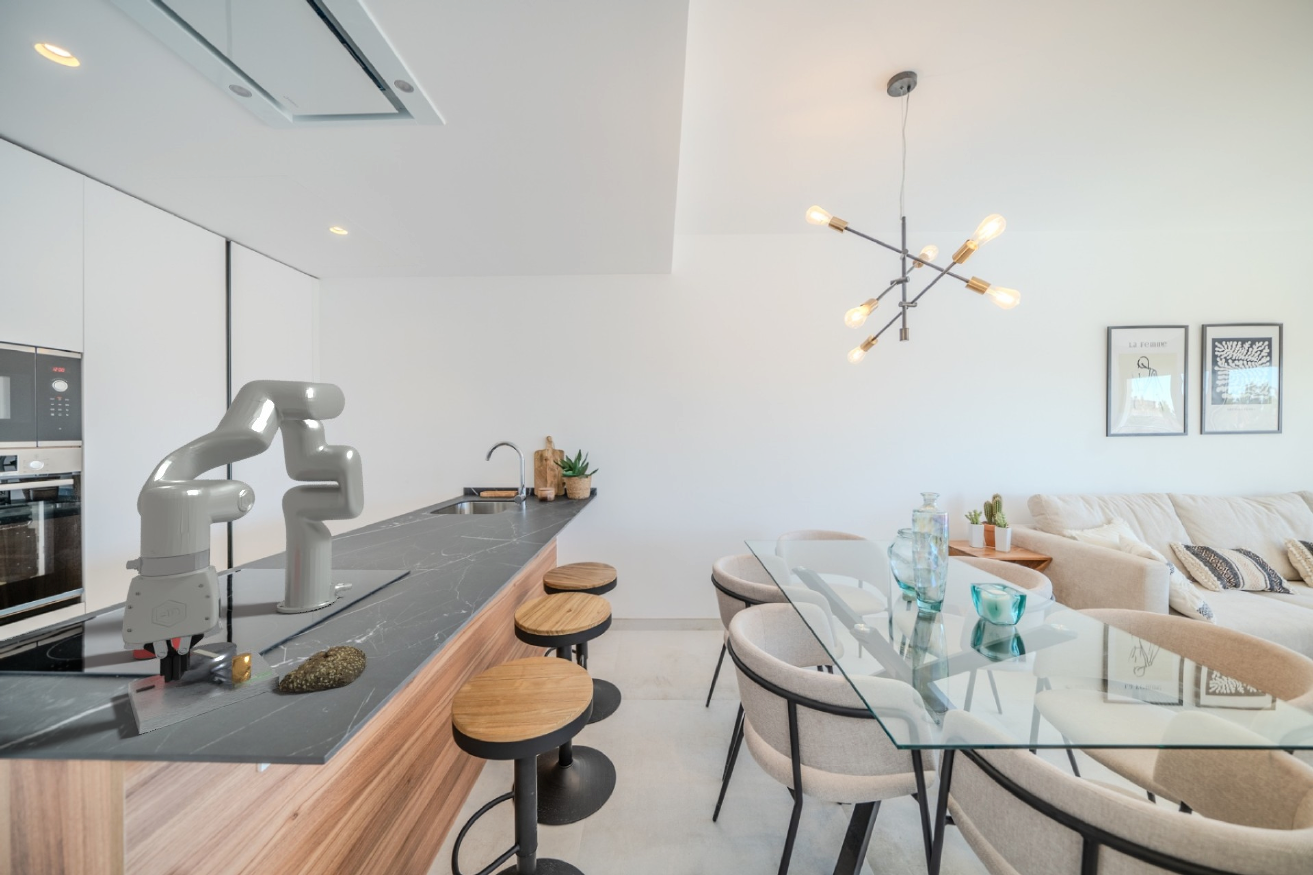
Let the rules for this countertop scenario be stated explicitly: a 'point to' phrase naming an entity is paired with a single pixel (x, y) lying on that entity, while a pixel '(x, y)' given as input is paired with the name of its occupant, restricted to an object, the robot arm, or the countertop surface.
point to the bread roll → (326, 670)
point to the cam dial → (218, 663)
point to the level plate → (194, 694)
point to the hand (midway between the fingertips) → (175, 677)
